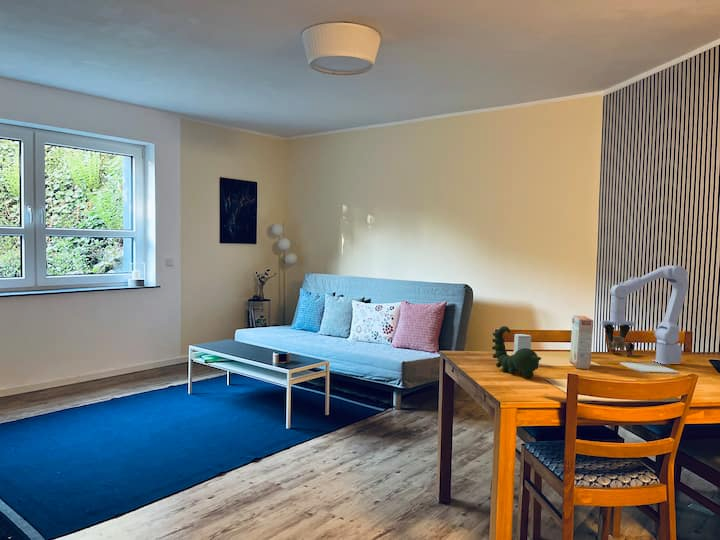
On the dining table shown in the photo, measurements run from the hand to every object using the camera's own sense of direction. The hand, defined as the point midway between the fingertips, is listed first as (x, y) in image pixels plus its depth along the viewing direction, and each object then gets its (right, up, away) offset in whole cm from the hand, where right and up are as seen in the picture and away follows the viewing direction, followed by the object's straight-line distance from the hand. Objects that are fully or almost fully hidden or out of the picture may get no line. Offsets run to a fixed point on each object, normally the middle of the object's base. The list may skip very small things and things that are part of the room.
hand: (616, 341), depth 237 cm
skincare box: (-46, -8, -10) cm, 48 cm away
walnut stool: (0, -3, 0) cm, 3 cm away
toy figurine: (-55, -9, -31) cm, 64 cm away
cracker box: (-22, -9, -13) cm, 27 cm away
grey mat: (+7, -10, -13) cm, 18 cm away
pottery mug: (+11, -9, +16) cm, 21 cm away
